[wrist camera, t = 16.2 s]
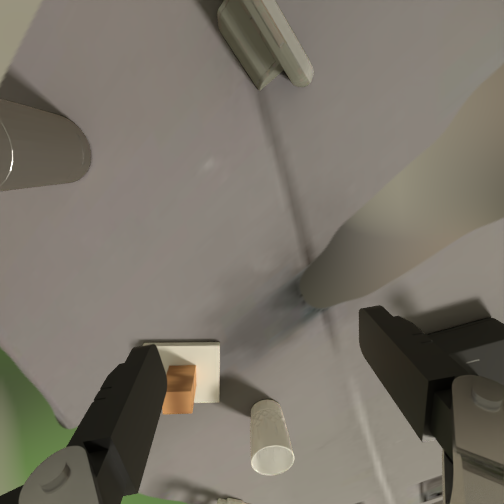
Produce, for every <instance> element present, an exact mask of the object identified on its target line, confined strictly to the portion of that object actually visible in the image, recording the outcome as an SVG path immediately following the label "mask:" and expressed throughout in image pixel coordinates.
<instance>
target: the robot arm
mask: <svg viewBox="0 0 504 504" xmlns="http://www.w3.org/2000/svg"><path fill="white" fill-rule="evenodd" d="M90 163H91V150H90V146H89V143H88V140H87V138H86V136H85V135H84V133H83V132H82V131H81V129H80V128H79V127H78V126H77V125H76V124H74V123H73V122H72V121H70V120H69V119H67V118H65V117H63V116H61V115H57V114H54V113H50V112H46V111H43V110H40V109H36V108H33V107H29V106H26V105H22V104H18V103H15V102H11V101H8V100H4V99H0V191H8V190H16V189H24V188H32V187H40V186H49V185H57V184H65V183H71V182H75V181H77V180H79V179H80V178H82V177H83V176H84V175H85V174H86V172H87V171H88V169H89V167H90ZM359 343H360V348H361V351H362V353H363V356H364V357H365V359H366V360H367V362H368V363H369V365H370V366H371V368H372V369H373V371H374V372H375V374H376V375H377V377H378V378H379V380H380V381H381V382H382V384H383V385H384V387H385V388H386V390H387V391H388V393H389V394H390V396H391V397H392V399H393V400H394V402H395V403H396V405H397V406H398V407H399V409H400V410H401V412H402V413H403V415H404V416H405V418H406V419H407V421H408V422H409V424H410V425H411V427H412V428H413V429H414V431H415V432H416V434H417V435H418V437H419V438H420V440H421V441H422V442H426V441H431V440H437V441H438V443H439V444H440V445H441V447H442V448H443V451H442V478H443V504H504V385H502V384H500V383H498V382H496V381H494V380H491V379H489V378H485V377H482V376H477V375H471V374H469V373H468V372H467V371H466V370H465V369H464V368H463V367H461V366H460V365H459V364H458V363H457V362H456V361H455V360H454V359H452V358H451V357H450V356H449V355H448V354H447V353H446V352H445V351H443V350H442V349H441V348H440V347H439V346H438V345H437V344H436V343H433V342H432V340H431V339H430V338H429V337H428V336H427V335H424V334H423V332H422V331H421V330H420V329H419V328H418V327H416V326H415V325H414V324H413V323H411V322H409V321H407V320H405V319H403V318H401V317H399V316H395V317H393V316H392V315H391V314H390V313H389V312H388V311H387V310H386V309H385V308H384V307H382V306H380V305H379V306H373V307H367V308H362V309H360V310H359ZM166 392H167V376H166V372H165V369H164V366H163V363H162V360H161V357H160V354H159V351H158V349H157V346H156V345H155V344H151V345H145V346H139V347H134V348H133V349H132V350H131V352H130V354H129V356H128V358H127V359H126V361H125V363H122V364H119V365H118V366H117V367H116V368H115V369H114V370H113V371H112V372H111V373H110V374H109V375H108V376H107V378H106V380H105V381H104V383H103V385H102V387H101V388H100V391H99V392H98V394H97V395H96V397H95V399H94V402H92V404H91V406H90V407H89V409H88V411H87V412H86V414H85V416H84V418H83V419H82V421H81V423H80V424H79V426H78V428H77V430H76V431H75V433H74V435H73V436H72V438H71V440H70V442H69V444H68V445H67V447H66V448H63V449H61V450H59V451H57V452H56V453H54V454H52V455H51V456H49V457H48V458H47V459H46V460H44V461H43V462H42V463H41V464H40V465H39V466H38V467H37V468H36V469H35V470H34V471H33V473H31V475H30V476H29V478H28V479H27V480H26V482H25V484H24V485H22V486H21V487H18V488H16V489H14V490H12V491H10V492H8V493H6V494H3V495H1V496H0V504H120V503H121V500H122V497H123V496H126V495H132V494H137V493H138V491H139V487H140V484H141V480H142V477H143V473H144V469H145V466H146V462H147V459H148V455H149V452H150V448H151V445H152V441H153V438H154V434H155V431H156V427H157V424H158V420H159V417H160V413H161V410H162V406H163V403H164V399H165V396H166Z"/></svg>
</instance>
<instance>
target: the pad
mask: <svg viewBox="0 0 504 504" xmlns="http://www.w3.org/2000/svg"><path fill="white" fill-rule="evenodd" d="M151 344H155V345H156V346H157V349H158V351H159V354H160V357H161V360H162V363H163V366H164V369H165V372H166V374H167V371H168V368H169V366H177V365H196V383H197V386H196V392H195V399H194V403H211V402H219V395H220V342H172V343H144V344H143V346H145V345H151Z"/></svg>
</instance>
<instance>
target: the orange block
mask: <svg viewBox="0 0 504 504" xmlns="http://www.w3.org/2000/svg"><path fill="white" fill-rule="evenodd" d="M166 376H167V392H166V396H165V399H164V403H163V406H162V409H163V414H188V413H192V411H193V405H194V399H195V392H196V386H197V383H196V365H177V366H169V368H168V371H167V374H166Z"/></svg>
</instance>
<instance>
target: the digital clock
mask: <svg viewBox="0 0 504 504" xmlns="http://www.w3.org/2000/svg"><path fill="white" fill-rule="evenodd" d="M253 3H254V4H253ZM256 8H257V9H256ZM259 13H260V14H259ZM217 18H218V27H219V31H220V32H221V34H222V35H223V37H224V38H225V40H226V41H227V43H228V44H229V46H230V47H231V49H232V50H233V52H234V53H235V55H236V56H237V58H238V60H239V61H240V63H241V64H242V66H243V67H244V69H245V70H246V72H247V73H248V75H249V76H250V78H251V79H252V81H253V82H254V84H255V85H256V87H257V88H258V90H259V91H260V90H262V89H263V88H264V87H265V86H266V85H267V84H268V83H270V82H271V81H272V80H273V79H274V78H275V77H277V76H278V75H279V74H280V73H281V72H282V71H283V70H284V71H285V72H286V74H287V76H288V77H289V79H290V81H291V82H292V84H293V85H295V86H297V87H305V86H308V85H309V84H310V83H311V81H312V78H313V74H314V72H313V67H312V65H311V63H310V61H309V58H308V57H307V55H306V53H305V51H304V50H303V48H302V46H301V44H300V43H299V41H298V39H297V37H296V35H295V34H294V32H293V30H292V28H291V27H290V25H289V23H288V21H287V20H286V18H285V16H284V14H283V13H282V11H281V9H280V7H279V6H278V4H277V2H276V0H224V1H223V3H222V4H221V6H220V7H219V9H218V12H217ZM273 22H274V23H273Z"/></svg>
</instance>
